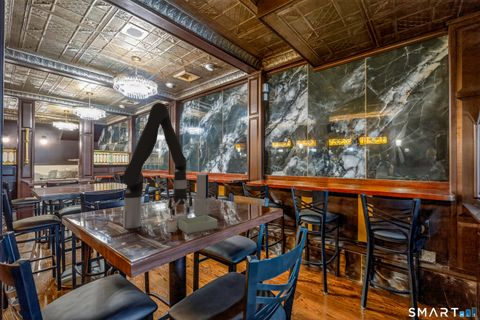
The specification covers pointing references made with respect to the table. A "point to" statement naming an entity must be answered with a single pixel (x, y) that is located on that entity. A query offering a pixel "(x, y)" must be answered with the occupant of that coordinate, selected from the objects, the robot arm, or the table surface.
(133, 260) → the table surface
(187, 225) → the tote
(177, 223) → the block
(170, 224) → the jar
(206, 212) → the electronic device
